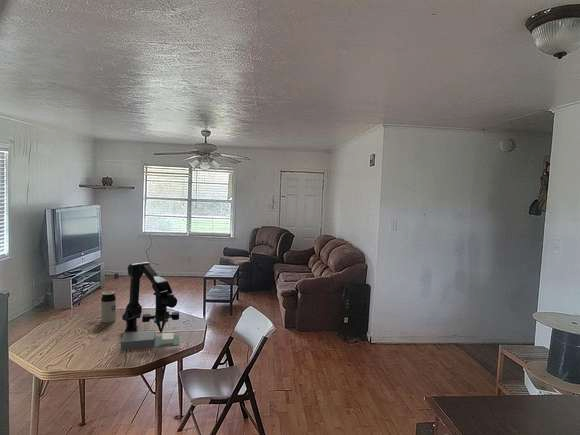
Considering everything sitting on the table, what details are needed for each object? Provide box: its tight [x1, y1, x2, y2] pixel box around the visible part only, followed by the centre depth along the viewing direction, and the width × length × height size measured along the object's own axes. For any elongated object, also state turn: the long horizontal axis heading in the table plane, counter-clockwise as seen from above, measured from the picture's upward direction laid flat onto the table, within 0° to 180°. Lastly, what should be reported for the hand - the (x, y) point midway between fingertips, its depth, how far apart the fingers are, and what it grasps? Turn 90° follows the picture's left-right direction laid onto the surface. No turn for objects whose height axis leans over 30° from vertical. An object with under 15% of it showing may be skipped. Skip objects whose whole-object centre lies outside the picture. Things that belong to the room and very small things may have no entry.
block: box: [161, 332, 175, 344], centre depth 206 cm, size 9×6×2 cm, turn 17°
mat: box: [154, 334, 180, 348], centre depth 206 cm, size 14×12×1 cm
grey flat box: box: [120, 330, 156, 351], centre depth 201 cm, size 13×16×4 cm
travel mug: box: [100, 290, 117, 324], centre depth 235 cm, size 8×8×18 cm
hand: (161, 332), depth 204 cm, fingers closed
